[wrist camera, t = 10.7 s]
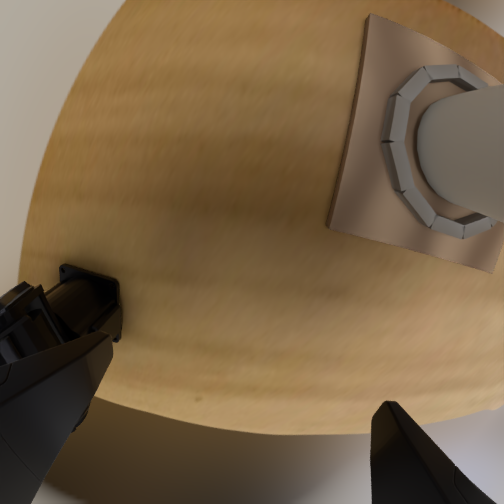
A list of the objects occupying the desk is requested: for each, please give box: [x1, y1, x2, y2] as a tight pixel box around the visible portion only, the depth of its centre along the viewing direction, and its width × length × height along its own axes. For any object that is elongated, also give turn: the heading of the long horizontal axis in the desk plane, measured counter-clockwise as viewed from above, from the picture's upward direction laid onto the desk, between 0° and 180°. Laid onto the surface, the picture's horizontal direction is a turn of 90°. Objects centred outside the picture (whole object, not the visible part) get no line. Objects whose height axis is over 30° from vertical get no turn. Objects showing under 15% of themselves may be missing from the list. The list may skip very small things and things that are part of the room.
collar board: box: [326, 13, 504, 274], centre depth 15 cm, size 16×16×3 cm
